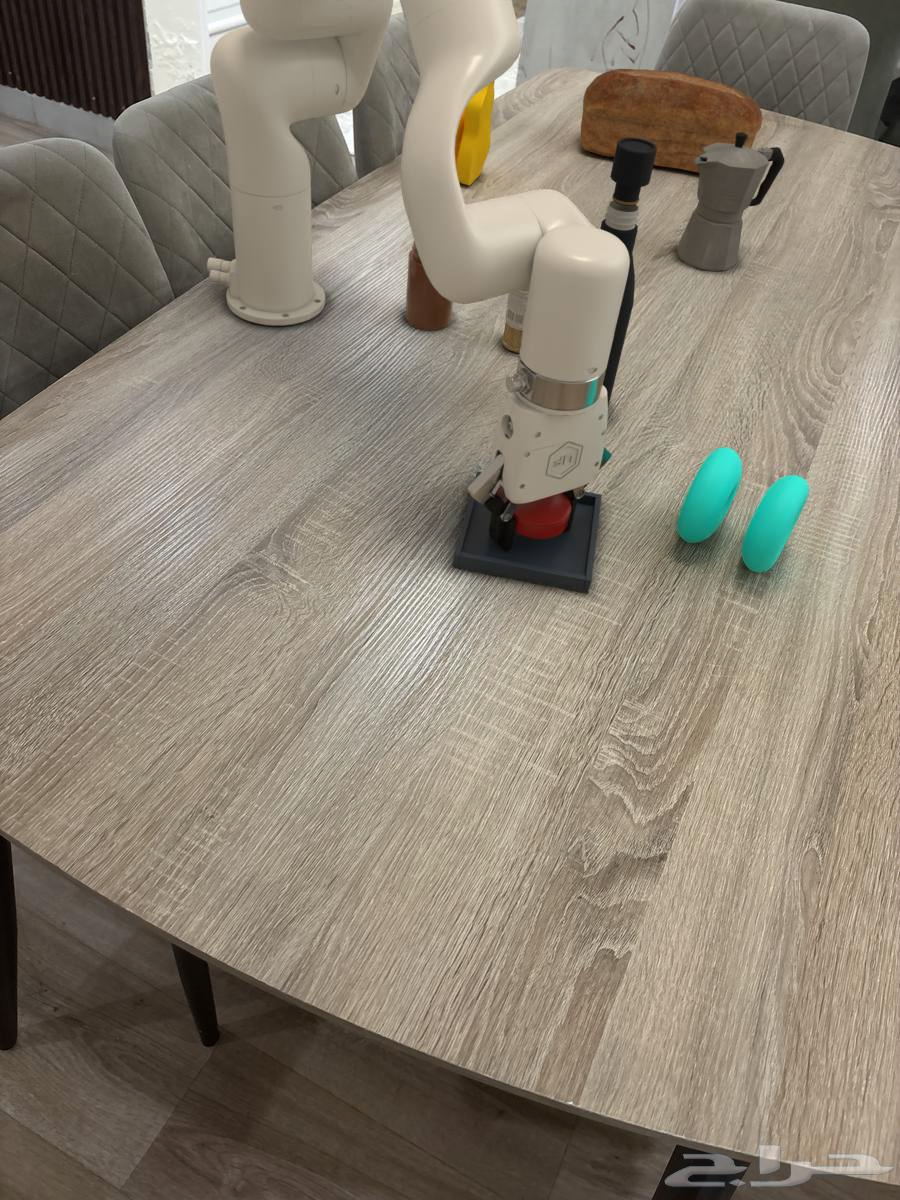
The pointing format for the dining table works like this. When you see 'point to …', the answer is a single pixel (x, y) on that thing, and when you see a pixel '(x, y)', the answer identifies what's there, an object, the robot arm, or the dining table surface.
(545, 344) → the robot arm
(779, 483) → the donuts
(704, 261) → the coffeepot
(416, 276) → the jam jar
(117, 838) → the dining table surface
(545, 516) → the jar lid
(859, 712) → the dining table surface
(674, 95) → the bread
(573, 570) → the slate tray
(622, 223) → the black bottle
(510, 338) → the spice jar
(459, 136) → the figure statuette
